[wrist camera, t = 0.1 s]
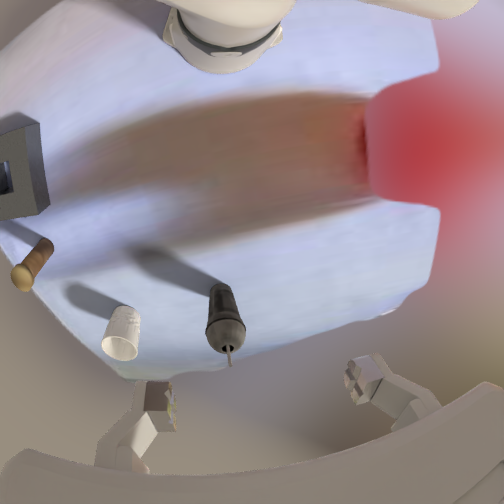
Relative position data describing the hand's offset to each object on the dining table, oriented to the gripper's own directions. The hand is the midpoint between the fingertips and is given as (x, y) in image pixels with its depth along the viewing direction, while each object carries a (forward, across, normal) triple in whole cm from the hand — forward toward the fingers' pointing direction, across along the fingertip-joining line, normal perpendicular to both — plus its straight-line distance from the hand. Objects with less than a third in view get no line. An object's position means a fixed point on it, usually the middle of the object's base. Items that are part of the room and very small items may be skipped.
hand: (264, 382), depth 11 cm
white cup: (+42, +22, +28) cm, 55 cm away
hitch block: (+38, +41, -8) cm, 56 cm away
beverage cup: (+41, 0, +22) cm, 47 cm away
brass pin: (+40, +37, +9) cm, 55 cm away
